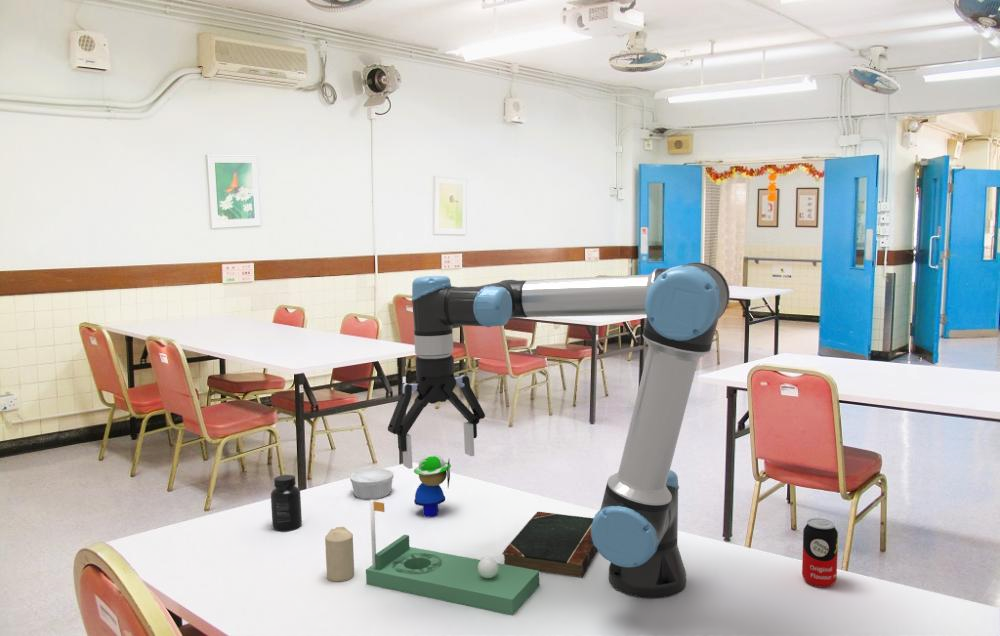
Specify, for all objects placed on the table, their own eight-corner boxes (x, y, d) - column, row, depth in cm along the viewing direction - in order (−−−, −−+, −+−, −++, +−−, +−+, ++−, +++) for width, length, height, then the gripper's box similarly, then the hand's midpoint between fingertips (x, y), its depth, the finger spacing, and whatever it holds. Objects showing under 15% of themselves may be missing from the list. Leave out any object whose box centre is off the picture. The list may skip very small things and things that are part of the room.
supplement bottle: (308, 524, 192) (305, 475, 190) (286, 534, 186) (283, 484, 185) (288, 518, 196) (285, 471, 194) (266, 528, 190) (263, 479, 188)
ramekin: (345, 500, 208) (344, 480, 207) (359, 486, 219) (358, 467, 218) (386, 502, 206) (385, 482, 206) (399, 487, 217) (398, 468, 216)
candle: (348, 583, 161) (346, 535, 159) (322, 580, 162) (320, 533, 160) (358, 571, 166) (356, 524, 165) (333, 569, 167) (331, 523, 166)
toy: (450, 519, 193) (449, 459, 191) (412, 519, 194) (410, 459, 192) (453, 506, 202) (451, 448, 200) (416, 506, 202) (415, 449, 200)
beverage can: (794, 578, 159) (796, 520, 158) (819, 572, 162) (821, 515, 160) (818, 591, 153) (821, 531, 152) (843, 585, 156) (845, 526, 154)
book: (537, 525, 190) (501, 569, 167) (536, 510, 190) (500, 552, 166) (609, 534, 184) (582, 580, 161) (609, 519, 184) (582, 563, 160)
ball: (502, 574, 156) (501, 555, 156) (493, 583, 153) (492, 563, 152) (483, 571, 158) (483, 551, 157) (474, 579, 154) (474, 559, 154)
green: (539, 585, 158) (538, 502, 156) (512, 615, 146) (510, 525, 144) (401, 558, 172) (398, 481, 169) (366, 583, 160) (363, 502, 158)
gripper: (480, 346, 166) (485, 445, 169) (367, 360, 154) (373, 467, 156) (499, 350, 160) (503, 453, 162) (381, 365, 147) (388, 477, 150)
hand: (439, 460), depth 159 cm, fingers open, 13 cm apart
